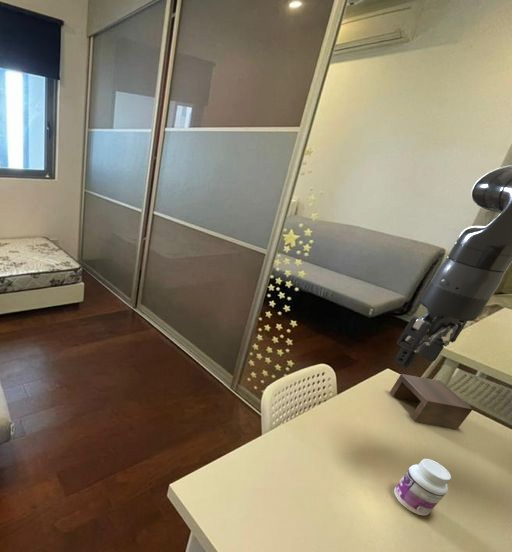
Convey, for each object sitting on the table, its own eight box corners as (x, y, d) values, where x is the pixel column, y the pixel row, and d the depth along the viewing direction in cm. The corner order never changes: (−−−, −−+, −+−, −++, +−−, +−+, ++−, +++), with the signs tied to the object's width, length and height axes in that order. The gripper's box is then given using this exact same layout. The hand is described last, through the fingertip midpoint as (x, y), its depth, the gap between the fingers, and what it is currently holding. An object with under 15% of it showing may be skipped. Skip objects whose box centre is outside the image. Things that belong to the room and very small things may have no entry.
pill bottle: (394, 481, 65) (418, 449, 61) (429, 502, 61) (456, 470, 57) (391, 500, 61) (416, 466, 57) (427, 523, 58) (456, 490, 54)
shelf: (427, 400, 89) (440, 380, 86) (457, 429, 80) (473, 409, 77) (388, 393, 90) (400, 373, 87) (414, 421, 81) (428, 401, 78)
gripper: (466, 301, 50) (414, 381, 56) (510, 294, 55) (458, 368, 61) (411, 280, 56) (370, 354, 62) (455, 276, 61) (413, 345, 68)
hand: (414, 361), depth 62 cm, fingers open, 8 cm apart
